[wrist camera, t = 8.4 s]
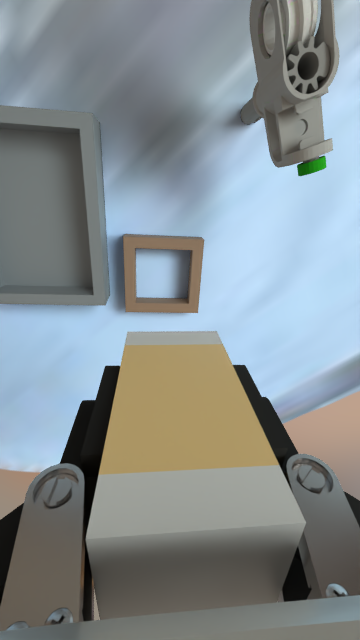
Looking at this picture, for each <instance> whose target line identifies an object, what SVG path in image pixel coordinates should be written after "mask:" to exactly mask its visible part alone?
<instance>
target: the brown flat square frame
mask: <svg viewBox="0 0 360 640" xmlns="http://www.w3.org/2000/svg"><path fill="white" fill-rule="evenodd" d="M123 246H124V275H125V304H126V312H170V313H198V305H199V293H200V282H201V270H202V259H203V247H204V239H203V238H202V237H183V236H160V235H136V234H125V235H124V236H123ZM136 248H148V249H175V250H191V252H190V267H189V281H188V296H187V298H136Z"/></svg>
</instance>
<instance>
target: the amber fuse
mask: <svg viewBox="0 0 360 640" xmlns="http://www.w3.org/2000/svg"><path fill="white" fill-rule="evenodd" d="M305 525H306V521H305V519H304V517H303V515H302V513H301V510H300V508H299V506H298V504H297V502H296V500H295V498H294V495H293V493H292V491H291V489H290V487H289V485H288V483H287V480H286V478H285V476H284V474H283V472H282V470H281V468H280V465H279V463H278V461H277V459H276V457H275V455H274V453H273V451H272V448H271V446H270V444H269V442H268V440H267V438H266V436H265V433H264V431H263V429H262V427H261V425H260V423H259V421H258V418H257V416H256V414H255V412H254V410H253V408H252V406H251V404H250V401H249V399H248V397H247V395H246V393H245V391H244V389H243V386H242V384H241V382H240V380H239V378H238V376H237V374H236V371H235V369H234V367H233V365H232V363H231V361H230V359H229V356H228V354H227V352H226V350H225V348H224V346H223V344H222V342H221V339H220V337H219V335H218V333H217V331H178V332H127V337H126V342H125V347H124V351H123V356H122V361H121V366H120V371H119V376H118V381H117V386H116V391H115V396H114V401H113V406H112V411H111V416H110V421H109V426H108V431H107V435H106V440H105V445H104V450H103V455H102V460H101V465H100V470H99V475H98V480H97V485H96V490H95V495H94V500H93V505H92V510H91V515H90V519H89V524H88V529H87V534H86V545H87V550H88V556H89V561H90V567H91V572H92V578H93V583H94V589H95V594H96V600H97V605H98V611H99V617H100V620H105V619H115V618H124V617H134V616H144V615H154V614H164V613H174V612H184V611H195V610H205V609H215V608H226V607H236V606H247V605H257V604H268V603H277V600H278V598H279V595H280V592H281V590H282V587H283V584H284V582H285V579H286V576H287V573H288V571H289V568H290V565H291V563H292V560H293V557H294V554H295V552H296V549H297V546H298V544H299V541H300V538H301V535H302V533H303V530H304V527H305Z"/></svg>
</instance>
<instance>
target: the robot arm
mask: <svg viewBox="0 0 360 640" xmlns="http://www.w3.org/2000/svg"><path fill="white" fill-rule="evenodd" d="M233 367H234V369H235V371H236V374H237V376H238V378H239V380H240V382H241V384H242V386H243V389H244V391H245V393H246V395H247V397H248V399H249V401H250V404H251V406H252V408H253V410H254V412H255V414H256V416H257V418H258V421H259V423H260V425H261V427H262V429H263V431H264V433H265V436H266V438H267V440H268V442H269V444H270V446H271V448H272V451H273V453H274V455H275V457H276V459H277V461H278V463H279V465H280V468H281V470H282V472H283V474H284V476H285V478H286V480H287V483H288V485H289V487H290V489H291V491H292V493H293V495H294V498H295V500H296V502H297V504H298V506H299V508H300V510H301V513H302V515H303V517H304V519H305V521H306V525H305V527H304V530H303V533H302V535H301V538H300V541H299V544H298V546H297V549H296V552H295V554H294V557H293V560H292V563H291V565H290V568H289V571H288V573H287V576H286V579H285V582H284V584H283V587H282V590H281V592H280V595H279V598H278V603H268V604H257V605H247V606H236V607H226V608H215V609H205V610H195V611H184V612H174V613H164V614H154V615H144V616H134V617H124V618H115V619H105V620H96V621H94V583H93V578H92V572H91V567H90V561H89V556H88V550H87V545H86V534H87V529H88V524H89V519H90V515H91V510H92V505H93V500H94V495H95V490H96V485H97V480H98V475H99V470H100V465H101V460H102V455H103V450H104V445H105V440H106V435H107V431H108V426H109V421H110V416H111V411H112V406H113V401H114V396H115V391H116V386H117V381H118V376H119V371H120V366H105V369H104V372H103V376H102V379H101V383H100V387H99V390H98V394H97V397H96V400H83V401H82V402H81V404H80V407H79V410H78V413H77V416H76V419H75V421H74V424H73V427H72V430H71V433H70V436H69V439H68V442H67V444H66V447H65V450H64V453H63V456H62V459H61V462H60V464H57V465H54V466H51V467H49V468H47V469H46V470H44V471H42V472H41V473H40V474H39V475H38V476H37V477H35V479H34V480H33V481H32V483H31V484H30V486H29V488H28V491H27V493H26V497H25V501H24V503H23V504H22V505H20V506H19V507H17V508H16V509H15V510H13V511H12V512H11V513H9V514H8V515H7V516H5V517H4V518H3V519H1V520H0V640H360V501H359V500H357V499H356V498H354V497H353V496H351V495H349V494H348V493H346V492H344V491H343V489H342V487H341V485H340V483H339V481H338V479H337V477H336V475H335V473H334V472H333V470H332V469H331V468H330V467H329V466H328V465H327V464H325V463H324V462H322V461H321V460H320V459H318V458H316V457H314V456H311V455H307V454H298V452H297V450H296V448H295V446H294V444H293V443H292V441H291V439H290V437H289V435H288V434H287V432H286V430H285V428H284V426H283V424H282V423H281V421H280V419H279V417H278V415H277V413H276V412H275V410H274V408H273V406H272V404H271V403H270V401H269V399H268V398H266V397H261V395H260V393H259V391H258V389H257V387H256V385H255V383H254V381H253V379H252V377H251V376H250V374H249V372H248V370H247V368H246V366H245V365H233Z"/></svg>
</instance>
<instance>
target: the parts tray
mask: <svg viewBox="0 0 360 640" xmlns="http://www.w3.org/2000/svg"><path fill="white" fill-rule="evenodd" d="M109 296H110V286H109V269H108V252H107V235H106V218H105V201H104V184H103V168H102V151H101V134H100V122H99V121H98V120H97V119H96V117H95V116H94V115H93V113H84V112H72V111H61V110H49V109H37V108H25V107H14V106H2V105H0V304H51V305H106V303H107V301H108V298H109Z"/></svg>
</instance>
